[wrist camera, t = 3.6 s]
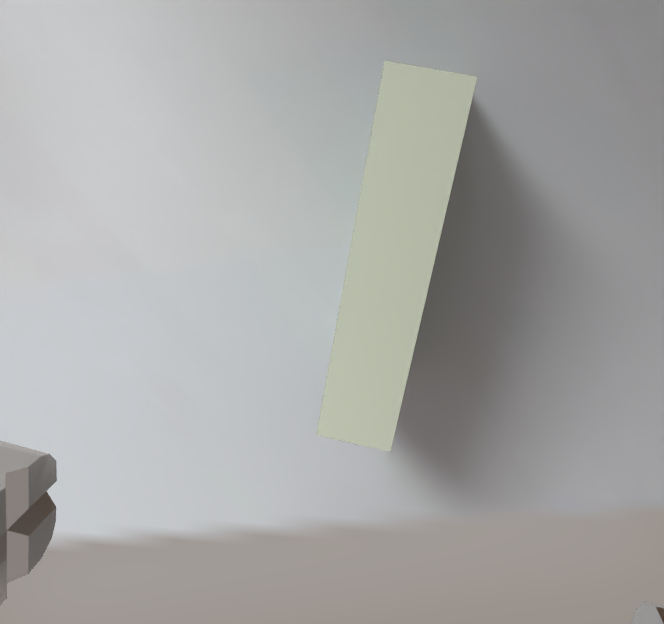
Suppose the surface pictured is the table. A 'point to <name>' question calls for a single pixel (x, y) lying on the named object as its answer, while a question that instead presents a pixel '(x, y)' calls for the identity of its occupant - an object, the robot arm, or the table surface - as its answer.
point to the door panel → (393, 249)
